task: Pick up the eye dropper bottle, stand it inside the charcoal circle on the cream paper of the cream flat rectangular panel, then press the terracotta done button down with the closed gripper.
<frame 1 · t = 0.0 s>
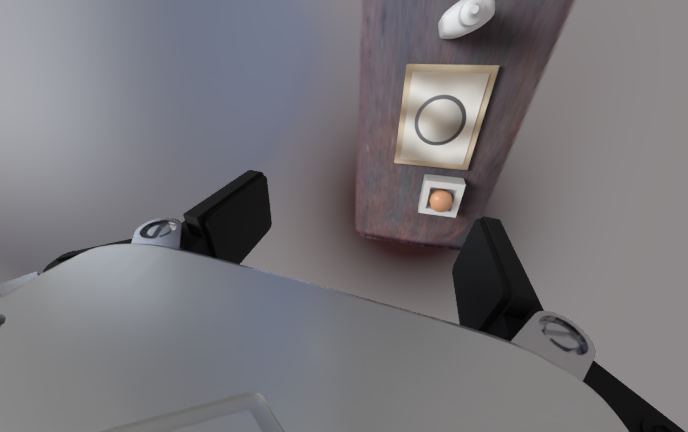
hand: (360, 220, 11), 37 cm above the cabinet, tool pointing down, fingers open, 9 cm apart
done button: (440, 200, 45), point 3 cm above the cabinet, slide at 0.0 cm
button housing: (439, 192, 48), on the cabinet
eye dropper bottle: (459, 22, 34), on the cabinet
cream flat rectangular panel: (439, 119, 41), on the cabinet
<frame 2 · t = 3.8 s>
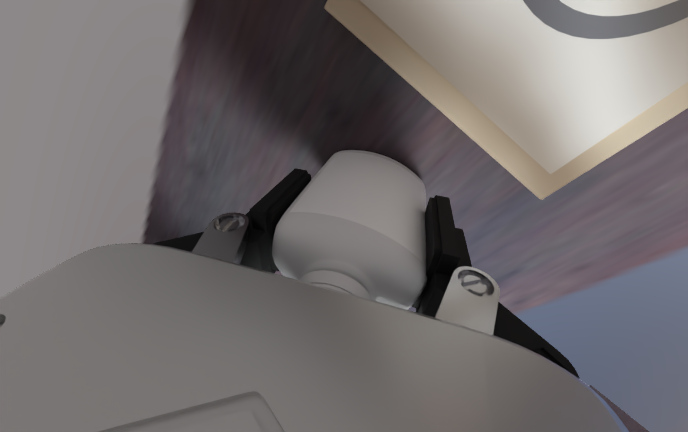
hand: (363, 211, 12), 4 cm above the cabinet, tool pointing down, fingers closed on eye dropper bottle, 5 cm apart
eye dropper bottle: (375, 179, 15), on the cabinet, touching gripper
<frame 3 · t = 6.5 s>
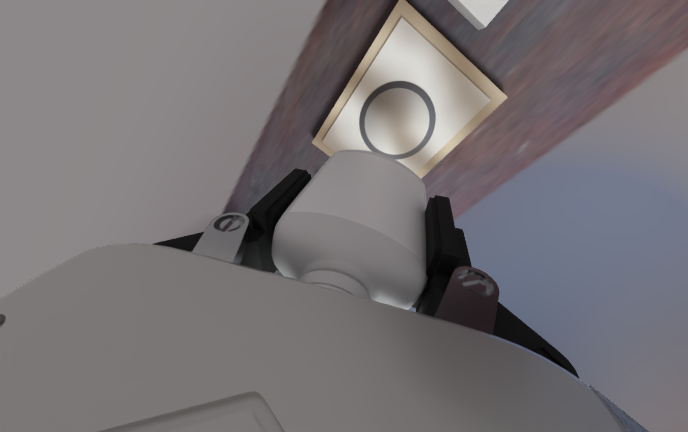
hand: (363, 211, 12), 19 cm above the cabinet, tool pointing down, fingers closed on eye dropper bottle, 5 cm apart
eye dropper bottle: (375, 178, 15), point 15 cm above the cabinet, touching gripper
cream flat rectangular panel: (396, 121, 27), on the cabinet
when the fingers open (6 cm above the cabinet, at t = 9.7 s): eye dropper bottle drops 1 cm, resting on cream flat rectangular panel.
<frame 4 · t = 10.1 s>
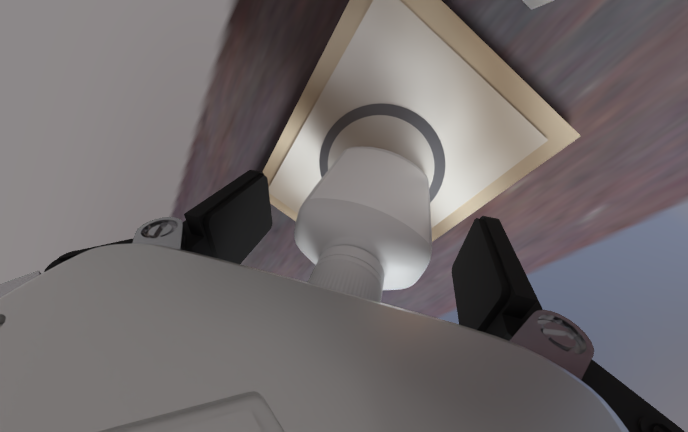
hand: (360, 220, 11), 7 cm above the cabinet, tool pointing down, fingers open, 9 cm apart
eye dropper bottle: (382, 173, 16), point 1 cm above the cabinet, touching cream flat rectangular panel
cream flat rectangular panel: (380, 164, 17), on the cabinet
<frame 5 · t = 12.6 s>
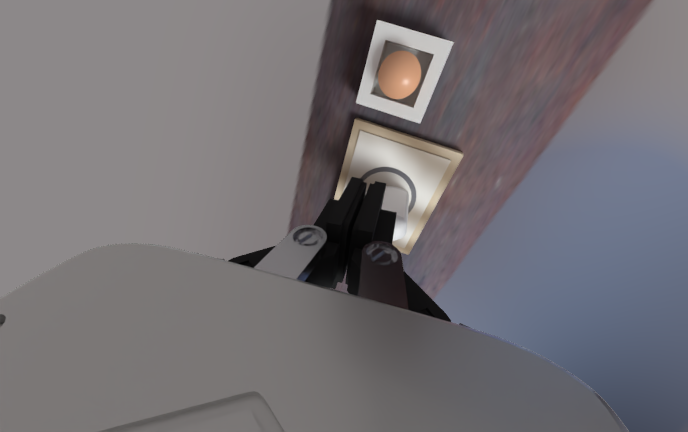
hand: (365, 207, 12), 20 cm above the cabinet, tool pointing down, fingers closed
done button: (399, 75, 23), point 3 cm above the cabinet, slide at 0.0 cm
button housing: (401, 74, 26), on the cabinet
eye dropper bottle: (387, 196, 32), point 1 cm above the cabinet, touching cream flat rectangular panel
cream flat rectangular panel: (385, 192, 33), on the cabinet
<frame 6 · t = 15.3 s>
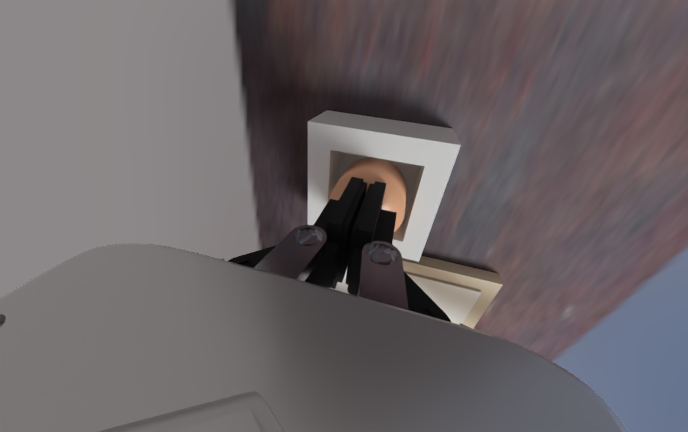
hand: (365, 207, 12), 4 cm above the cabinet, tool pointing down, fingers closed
done button: (369, 198, 13), point 3 cm above the cabinet, slide at 0.4 cm, touching gripper
button housing: (377, 176, 15), on the cabinet
cream flat rectangular panel: (385, 315, 22), on the cabinet
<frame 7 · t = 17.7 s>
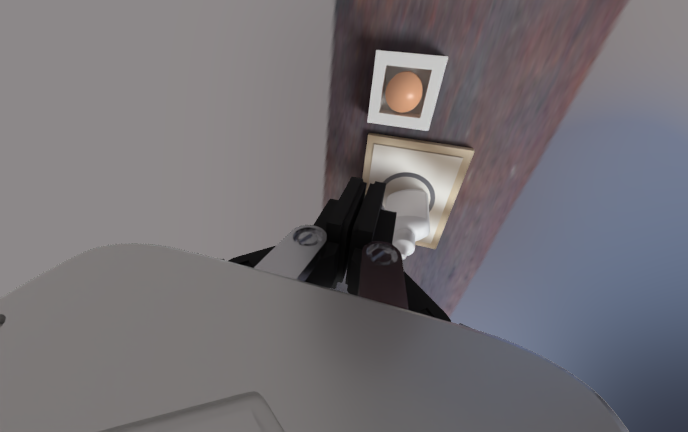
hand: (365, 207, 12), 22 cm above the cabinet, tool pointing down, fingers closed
done button: (404, 91, 26), point 2 cm above the cabinet, slide at 1.1 cm
button housing: (405, 89, 28), on the cabinet
eye dropper bottle: (407, 198, 35), point 1 cm above the cabinet, touching cream flat rectangular panel
cream flat rectangular panel: (405, 194, 35), on the cabinet
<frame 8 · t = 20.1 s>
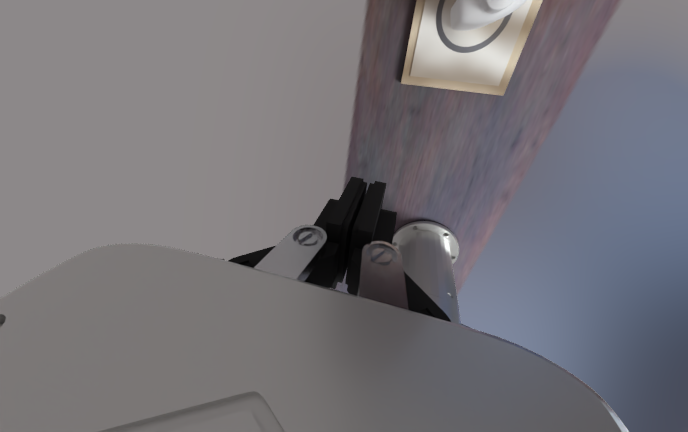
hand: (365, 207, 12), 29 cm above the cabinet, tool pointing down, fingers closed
eye dropper bottle: (476, 10, 27), point 1 cm above the cabinet, touching cream flat rectangular panel
cream flat rectangular panel: (472, 11, 28), on the cabinet
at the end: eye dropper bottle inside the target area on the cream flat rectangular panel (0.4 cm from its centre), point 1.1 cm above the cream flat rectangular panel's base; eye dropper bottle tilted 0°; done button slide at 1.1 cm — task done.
